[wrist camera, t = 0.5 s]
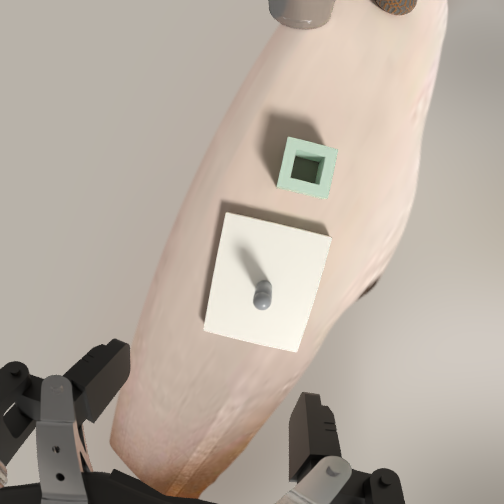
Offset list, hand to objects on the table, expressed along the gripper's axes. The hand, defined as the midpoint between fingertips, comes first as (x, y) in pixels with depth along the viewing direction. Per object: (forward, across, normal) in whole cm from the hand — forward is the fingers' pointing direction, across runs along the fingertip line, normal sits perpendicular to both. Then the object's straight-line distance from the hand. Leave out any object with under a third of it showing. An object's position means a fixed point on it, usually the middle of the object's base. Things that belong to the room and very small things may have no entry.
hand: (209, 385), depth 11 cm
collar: (+24, -3, -12) cm, 27 cm away
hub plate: (+24, -2, +3) cm, 24 cm away
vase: (+26, -12, -46) cm, 54 cm away
